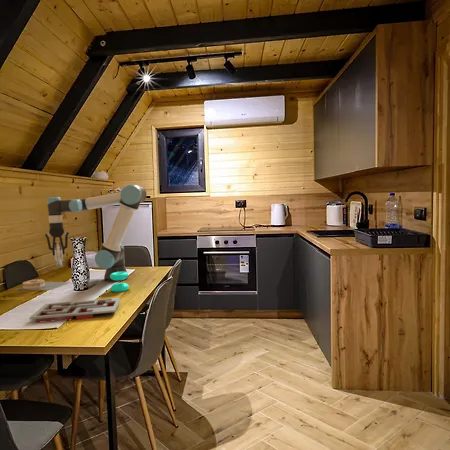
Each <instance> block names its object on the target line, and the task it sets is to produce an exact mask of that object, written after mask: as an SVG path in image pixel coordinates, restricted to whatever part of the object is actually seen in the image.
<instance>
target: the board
mask: <svg viewBox="0 0 450 450" xmlns="http://www.w3.org/2000/svg"><path fill="white" fill-rule="evenodd" d="M44 283H45V285H44V286H42V287H39V288H33V289H24V288H23V286H21V287H17V288H15V289H14V290H21V291H22V290H24V291H25V290H27V291H28V290H29V291H30V290H31V291H35V290H36V291H52V290H55V289H57V288H60V287H62V286H65V285H67V284H69V283H70V284H71V282H70V281H66V282H65V281H44Z"/></svg>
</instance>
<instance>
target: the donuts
mask: <svg viewBox="0 0 450 450" xmlns="http://www.w3.org/2000/svg"><path fill="white" fill-rule="evenodd" d="M127 277H128V278H129V273H128V271H127V272H115V273H112V274H111V275H110V278H111V279H112V280H122V281H124V280H123V279H126V278H127ZM126 280H127V279H126ZM129 288H130V286H129V284H128V283H126V282H118V283H114V284H112V285H111V287H110V291H112V292H114V293H120V292H121V293H122V292H125V291H127V290H129Z"/></svg>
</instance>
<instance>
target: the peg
mask: <svg viewBox="0 0 450 450" xmlns="http://www.w3.org/2000/svg"><path fill="white" fill-rule="evenodd" d="M61 249H62V247H61V243H60V241H55V250H56V256H57V261H56V267H57V268H60V267H63V260H62V257H61Z"/></svg>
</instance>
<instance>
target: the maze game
mask: <svg viewBox="0 0 450 450" xmlns="http://www.w3.org/2000/svg"><path fill="white" fill-rule="evenodd" d="M121 300H122V297H115V298H113V297H112V298H104V299H103V298H102V299H101V298H100V299H91V300H89V299H87V300H75V301H63V302H54V303H52V302H51V303H45V304H44V305H43V306H41V307H40V308H39V309H38V310H37V311H36V312H34V313H33V314H32V315H31V316H29V320H35V322H36V323H41V322H40V321H47V322H53V321H52V320H58V321H67V320H73V319H74V318H76V320H85V319H93V318H94V317H95V315H99V314H109V313H115V312H116V311H117V309H118V306H119V304H120V302H121Z"/></svg>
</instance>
